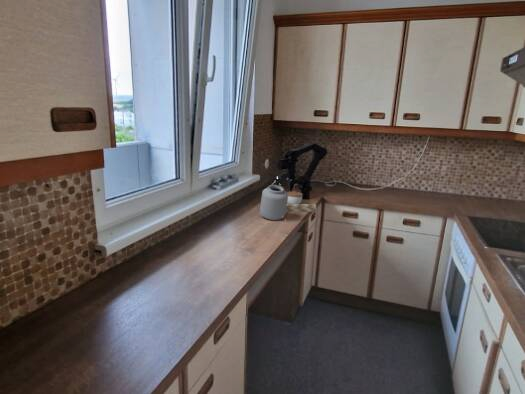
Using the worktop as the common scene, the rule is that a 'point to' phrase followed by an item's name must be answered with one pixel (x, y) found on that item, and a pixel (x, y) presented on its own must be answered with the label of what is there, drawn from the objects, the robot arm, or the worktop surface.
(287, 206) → the board
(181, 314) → the worktop surface
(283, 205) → the jar
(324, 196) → the worktop surface
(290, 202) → the lidded jar
